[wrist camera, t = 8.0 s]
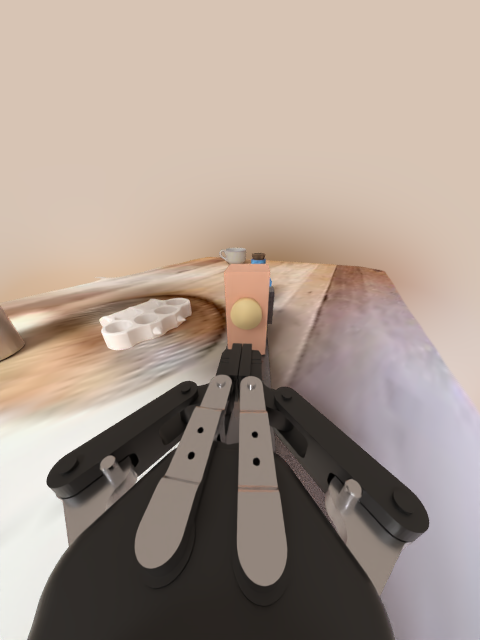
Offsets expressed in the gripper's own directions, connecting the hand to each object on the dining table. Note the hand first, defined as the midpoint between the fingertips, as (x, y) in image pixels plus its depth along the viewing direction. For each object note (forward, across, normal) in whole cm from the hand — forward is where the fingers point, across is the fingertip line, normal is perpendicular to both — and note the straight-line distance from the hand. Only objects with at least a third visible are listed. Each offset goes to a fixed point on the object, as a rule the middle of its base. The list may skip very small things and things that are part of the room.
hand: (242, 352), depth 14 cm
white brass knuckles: (+20, +21, +9) cm, 30 cm away
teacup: (+89, +12, +8) cm, 90 cm away
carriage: (+11, 0, +6) cm, 12 cm away
